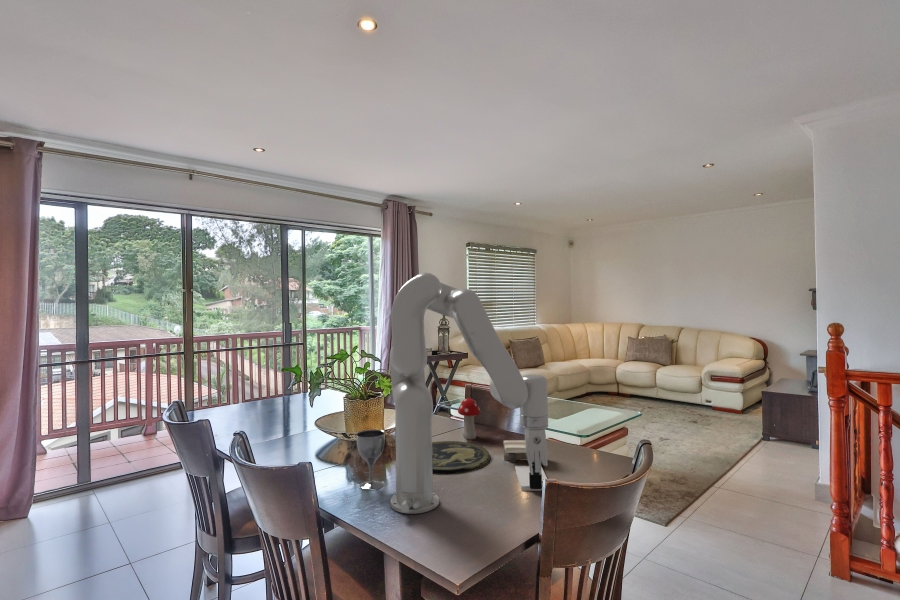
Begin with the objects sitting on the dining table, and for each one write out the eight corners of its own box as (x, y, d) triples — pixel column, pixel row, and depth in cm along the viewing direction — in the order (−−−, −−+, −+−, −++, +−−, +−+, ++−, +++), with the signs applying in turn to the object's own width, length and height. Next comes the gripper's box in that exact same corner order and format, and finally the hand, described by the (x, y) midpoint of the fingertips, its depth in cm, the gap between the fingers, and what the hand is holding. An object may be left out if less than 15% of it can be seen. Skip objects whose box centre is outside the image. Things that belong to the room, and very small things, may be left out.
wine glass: (391, 484, 133) (390, 432, 133) (369, 493, 127) (368, 438, 127) (373, 478, 139) (372, 428, 139) (351, 486, 133) (350, 433, 133)
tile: (550, 493, 127) (550, 486, 127) (521, 493, 128) (521, 486, 128) (541, 472, 143) (541, 465, 143) (515, 472, 144) (515, 465, 144)
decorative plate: (388, 466, 144) (414, 438, 174) (388, 472, 144) (414, 443, 174) (484, 472, 138) (494, 442, 168) (484, 479, 138) (494, 447, 168)
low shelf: (547, 467, 146) (546, 447, 146) (505, 467, 146) (505, 447, 146) (543, 458, 154) (542, 440, 154) (503, 458, 154) (503, 440, 154)
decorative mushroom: (455, 434, 183) (454, 396, 183) (475, 432, 186) (474, 395, 186) (463, 441, 174) (462, 401, 174) (484, 439, 176) (484, 400, 176)
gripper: (552, 428, 119) (554, 499, 119) (544, 414, 134) (545, 477, 134) (523, 428, 119) (524, 499, 119) (517, 414, 134) (519, 477, 134)
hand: (535, 487), depth 127 cm, fingers closed
